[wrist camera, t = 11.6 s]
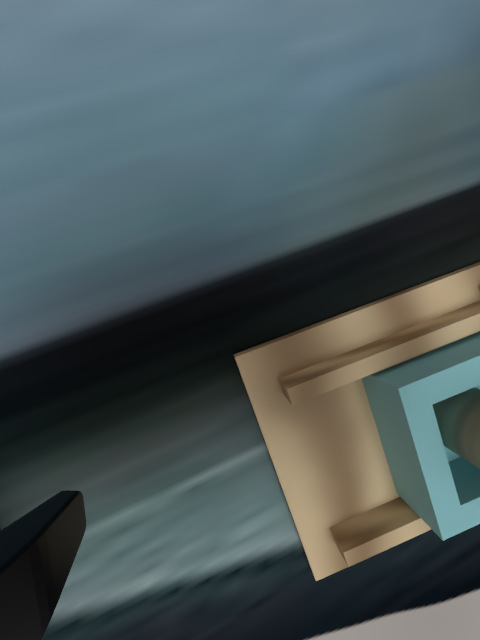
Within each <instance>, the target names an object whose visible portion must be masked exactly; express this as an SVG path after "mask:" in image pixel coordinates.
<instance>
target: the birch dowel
mask: <svg viewBox="0 0 480 640" xmlns="http://www.w3.org/2000/svg"><path fill="white" fill-rule="evenodd" d="M432 406H433V409H434V413H435V416H436V420H437V423H438V427H439V431H440V434H441V438H442V441H443V445H444V446H445V447H446V448H448V449H449V450H451V451H453V452H454V453H456V454H457V455H459V456H460V457H462V458H463V459H465V460H467V461H468V462H470V463H471V464H473V465H474V466H476V467H478V468H479V469H480V389H478V388H475V387H474V388H471V389H469V390H466V391H464V392H462V393H459V394H457V395H454V396H452V397H449V398H447V399H445V400H442V401H440V402H437V403H435V404H433V405H432Z"/></svg>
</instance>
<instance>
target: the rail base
mask: <svg viewBox="0 0 480 640" xmlns="http://www.w3.org/2000/svg"><path fill="white" fill-rule="evenodd" d="M479 331H480V262H478V263H475V264H473V265H470V266H467V267H465V268H462V269H459V270H457V271H454V272H451V273H449V274H446V275H443V276H441V277H438V278H435V279H433V280H430V281H427V282H425V283H422V284H419V285H417V286H414V287H412V288H409V289H406V290H404V291H401V292H398V293H396V294H393V295H390V296H388V297H385V298H382V299H380V300H377V301H374V302H372V303H369V304H366V305H364V306H361V307H358V308H356V309H353V310H351V311H348V312H345V313H343V314H340V315H337V316H335V317H332V318H329V319H327V320H324V321H321V322H319V323H316V324H313V325H311V326H308V327H305V328H303V329H300V330H297V331H295V332H292V333H289V334H287V335H284V336H282V337H279V338H276V339H274V340H271V341H268V342H266V343H263V344H260V345H258V346H255V347H252V348H250V349H247V350H244V351H242V352H239V353H236V354H234V358H235V360H236V363H237V366H238V369H239V371H240V374H241V377H242V380H243V382H244V385H245V388H246V391H247V393H248V396H249V399H250V402H251V404H252V407H253V410H254V413H255V415H256V418H257V421H258V424H259V426H260V429H261V432H262V435H263V437H264V440H265V443H266V446H267V449H268V451H269V454H270V457H271V460H272V462H273V465H274V468H275V471H276V473H277V476H278V479H279V482H280V484H281V487H282V490H283V493H284V495H285V498H286V501H287V504H288V506H289V509H290V512H291V515H292V517H293V520H294V523H295V526H296V528H297V531H298V534H299V537H300V539H301V542H302V545H303V548H304V550H305V553H306V556H307V559H308V561H309V564H310V567H311V570H312V572H313V575H314V577H315V580H316V581H318V580H320V579H322V578H325V577H327V576H329V575H331V574H333V573H336V572H338V571H340V570H342V569H344V568H347V567H350V566H352V565H354V564H356V563H358V562H361V561H363V560H365V559H367V558H369V557H372V556H374V555H376V554H378V553H380V552H383V551H385V550H387V549H389V548H391V547H394V546H396V545H398V544H400V543H402V542H405V541H407V540H409V539H411V538H413V537H416V536H418V535H420V534H422V533H424V532H427V531H429V530H431V528H430V527H429V526H428V525H427V524H426V523H425V522H424V521H423V520H422V519H421V518H420V517H419V516H418V514H417V513H416V512H415V511H414V510H413V509H412V508H411V507H410V506H409V505H408V504H407V503H406V502H405V501H404V500H403V499H402V498H401V497H400V496H399V495H398V494H397V492H396V488H395V485H394V482H393V479H392V475H391V472H390V469H389V466H388V462H387V459H386V456H385V453H384V450H383V446H382V443H381V440H380V437H379V433H378V430H377V427H376V424H375V420H374V417H373V414H372V411H371V408H370V404H369V401H368V398H367V395H366V391H365V388H364V385H363V382H362V378H363V377H366V376H368V375H371V374H373V373H376V372H378V371H381V370H383V369H386V368H388V367H391V366H393V365H396V364H398V363H401V362H403V361H406V360H408V359H411V358H413V357H416V356H418V355H421V354H423V353H426V352H429V351H431V350H434V349H436V348H439V347H441V346H444V345H446V344H449V343H451V342H454V341H456V340H459V339H461V338H464V337H466V336H469V335H471V334H474V333H476V332H479Z"/></svg>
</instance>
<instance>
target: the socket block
mask: <svg viewBox="0 0 480 640" xmlns="http://www.w3.org/2000/svg"><path fill="white" fill-rule="evenodd" d="M362 382H363V385H364V388H365V391H366V395H367V398H368V401H369V404H370V408H371V411H372V414H373V417H374V420H375V424H376V427H377V430H378V433H379V437H380V440H381V443H382V446H383V450H384V453H385V456H386V459H387V462H388V466H389V469H390V472H391V475H392V479H393V482H394V485H395V488H396V492H397V494H398V495H399V496H400V497H401V498H402V499H403V500H404V501H405V502H406V503H407V504H408V505H409V506H410V507H411V508H412V509H413V510H414V511H415V512H416V513H417V514H418V516H419V517H420V518H421V519H422V520H423V521H424V522H425V523H426V524H427V525H428V526H429V527H430V528H431V529H432V530H433V531H434V532H435V533H436V534H437V535H438V536H439V537H440V538H441V539H442V540H445V539H448V538H450V537H452V536H454V535H456V534H459V533H461V532H463V531H465V530H467V529H469V528H472V527H474V526H476V525H478V524H480V469H479V468H478V467H476V466H474V465H473V464H471V463H470V462H468V461H467V460H465V459H463V458H462V457H460V456H459V455H457V454H456V453H454V452H453V451H451V450H449V449H448V448H446V447H445V446H444V445H443V441H442V438H441V434H440V431H439V427H438V423H437V420H436V416H435V413H434V409H433V406H432V405H433V404H435V403H437V402H440V401H442V400H445V399H447V398H449V397H452V396H454V395H457V394H459V393H462V392H464V391H466V390H469V389H471V388H474V387H475V388H478V389H480V331H479V332H476V333H474V334H471V335H469V336H466V337H464V338H461V339H459V340H456V341H454V342H451V343H449V344H446V345H444V346H441V347H439V348H436V349H434V350H431V351H429V352H426V353H423V354H421V355H418V356H416V357H413V358H411V359H408V360H406V361H403V362H401V363H398V364H396V365H393V366H391V367H388V368H386V369H383V370H381V371H378V372H376V373H373V374H371V375H368V376H366V377H363V378H362Z"/></svg>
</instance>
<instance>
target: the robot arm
mask: <svg viewBox="0 0 480 640" xmlns="http://www.w3.org/2000/svg"><path fill="white" fill-rule="evenodd" d="M85 528H86V517H85V508H84V500H83V495H82V493H81V492H80V491H61V492H59V493H58V494H56V495H55V496H53V497H52V498H50V499H49V500H47V501H45V502H44V503H42V504H41V505H39V506H38V507H36V508H35V509H33V510H32V511H30V512H29V513H27V514H26V515H24V516H23V517H21V518H20V519H18V520H17V521H15V522H14V523H12V524H10V525H9V526H7V527H6V528H4V529H3V530H1V531H0V640H41V639H42V637H43V635H44V633H45V630H46V628H47V626H48V624H49V622H50V620H51V617H52V615H53V612H54V610H55V608H56V605H57V603H58V600H59V598H60V595H61V592H62V590H63V587H64V585H65V582H66V580H67V577H68V574H69V572H70V569H71V567H72V564H73V562H74V559H75V556H76V554H77V551H78V549H79V546H80V544H81V541H82V538H83V536H84V533H85Z"/></svg>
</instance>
